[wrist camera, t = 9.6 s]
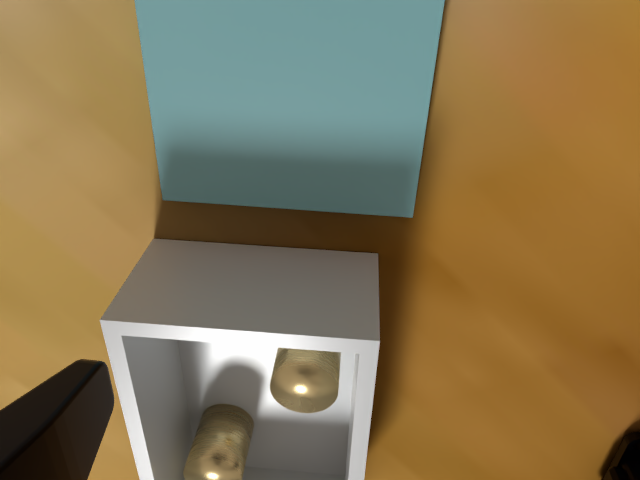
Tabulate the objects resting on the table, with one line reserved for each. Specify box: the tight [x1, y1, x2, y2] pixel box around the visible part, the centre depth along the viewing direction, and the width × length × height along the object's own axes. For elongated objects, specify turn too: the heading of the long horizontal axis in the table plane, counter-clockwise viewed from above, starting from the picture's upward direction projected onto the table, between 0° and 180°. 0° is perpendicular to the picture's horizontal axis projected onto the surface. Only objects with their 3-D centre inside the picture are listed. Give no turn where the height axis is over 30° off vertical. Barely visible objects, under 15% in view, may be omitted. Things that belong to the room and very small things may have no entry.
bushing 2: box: [270, 348, 341, 413], centre depth 21 cm, size 3×3×3 cm
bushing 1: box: [183, 404, 254, 480], centre depth 25 cm, size 3×3×3 cm
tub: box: [100, 239, 380, 480], centre depth 23 cm, size 9×14×5 cm, turn 179°
